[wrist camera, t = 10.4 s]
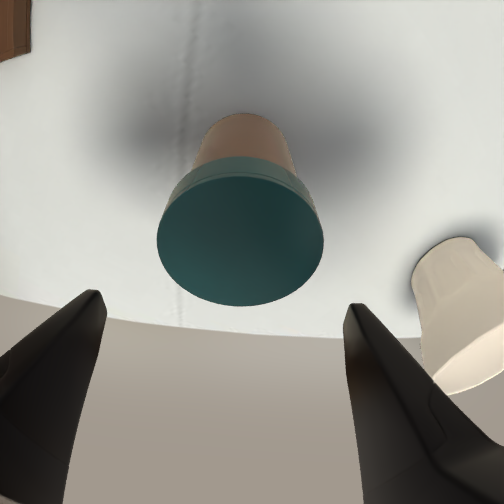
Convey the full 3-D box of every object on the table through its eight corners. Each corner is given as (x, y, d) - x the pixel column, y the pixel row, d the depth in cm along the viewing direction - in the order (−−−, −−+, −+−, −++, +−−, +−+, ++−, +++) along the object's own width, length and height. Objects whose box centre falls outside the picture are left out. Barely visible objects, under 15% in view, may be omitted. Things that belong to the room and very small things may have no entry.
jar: (201, 110, 18) (164, 180, 11) (293, 117, 18) (327, 191, 11) (199, 190, 22) (175, 292, 14) (281, 195, 22) (298, 299, 15)
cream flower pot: (369, 275, 27) (405, 382, 19) (474, 194, 21) (547, 285, 13) (420, 322, 33) (448, 403, 24) (501, 263, 27) (546, 339, 18)
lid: (211, 294, 17) (208, 321, 15) (135, 197, 13) (122, 222, 11) (333, 253, 15) (341, 279, 13) (282, 128, 11) (287, 146, 10)
